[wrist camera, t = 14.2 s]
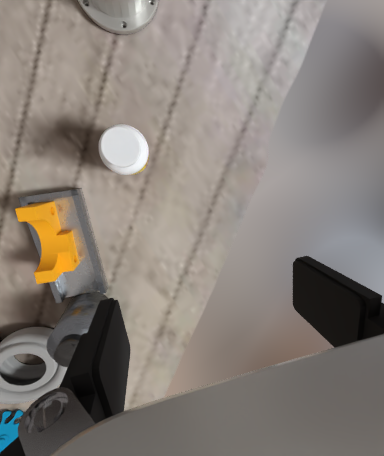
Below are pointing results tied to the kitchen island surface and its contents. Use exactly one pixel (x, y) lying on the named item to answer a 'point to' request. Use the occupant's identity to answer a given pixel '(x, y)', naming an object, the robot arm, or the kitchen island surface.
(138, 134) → the supplement bottle
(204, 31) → the kitchen island surface
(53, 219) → the pipe clamp
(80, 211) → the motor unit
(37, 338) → the turbocharger housing
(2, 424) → the gear
